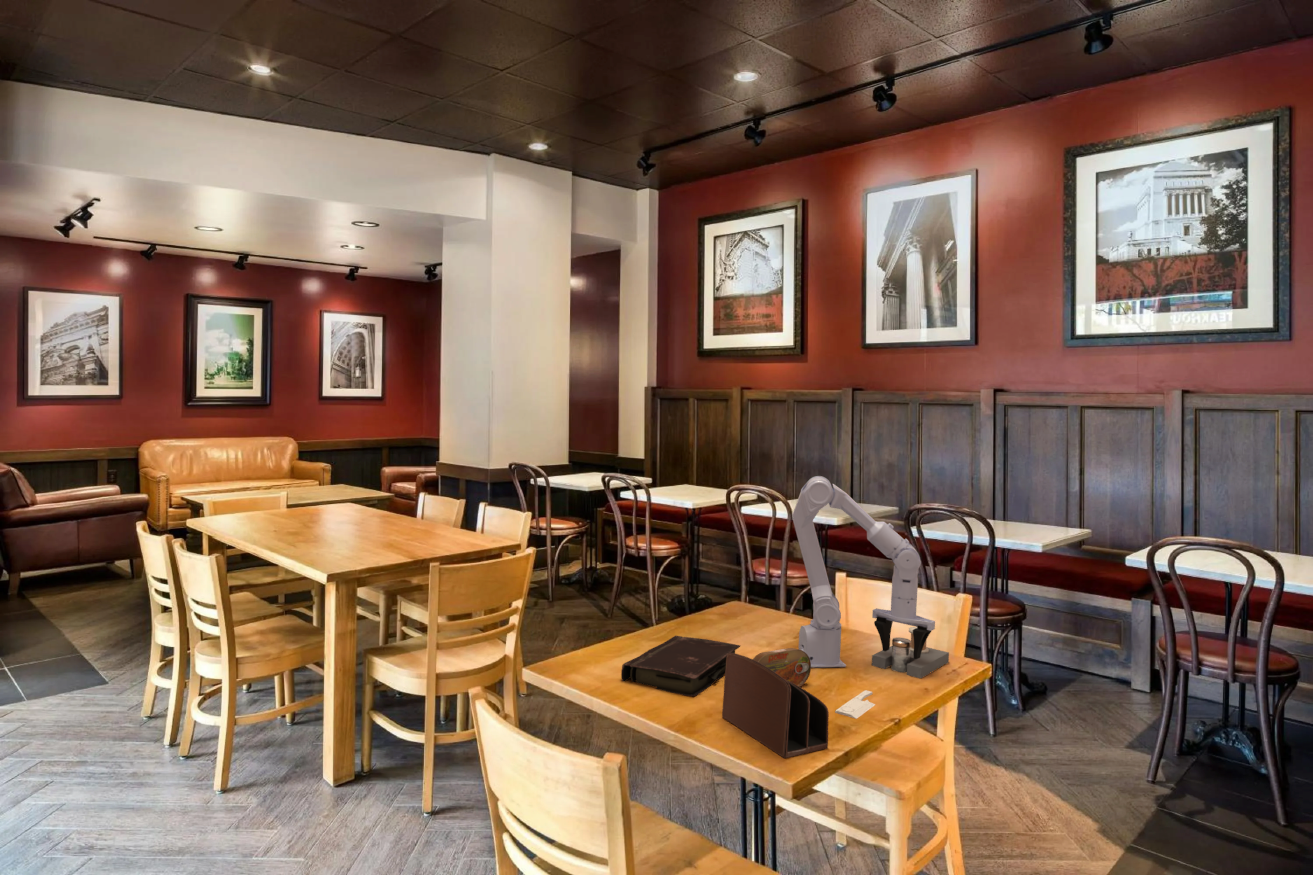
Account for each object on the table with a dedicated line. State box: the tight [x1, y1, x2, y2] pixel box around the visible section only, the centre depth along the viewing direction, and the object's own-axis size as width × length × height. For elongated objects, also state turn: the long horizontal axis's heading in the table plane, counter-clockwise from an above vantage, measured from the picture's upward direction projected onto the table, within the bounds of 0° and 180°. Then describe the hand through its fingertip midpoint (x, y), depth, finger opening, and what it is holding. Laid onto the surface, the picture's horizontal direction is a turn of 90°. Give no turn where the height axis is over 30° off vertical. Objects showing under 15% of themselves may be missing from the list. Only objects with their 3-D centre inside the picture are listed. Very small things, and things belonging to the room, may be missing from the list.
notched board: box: [871, 626, 950, 679], centre depth 193 cm, size 16×12×8 cm
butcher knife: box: [834, 689, 876, 720], centre depth 167 cm, size 5×15×1 cm, turn 142°
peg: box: [890, 637, 911, 673], centre depth 189 cm, size 4×4×7 cm
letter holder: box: [721, 652, 830, 759], centre depth 151 cm, size 10×20×14 cm, turn 29°
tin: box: [753, 647, 812, 688], centre depth 175 cm, size 15×3×8 cm, turn 117°
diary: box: [620, 635, 741, 697], centre depth 183 cm, size 19×25×5 cm
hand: (901, 653), depth 190 cm, fingers open, 7 cm apart
